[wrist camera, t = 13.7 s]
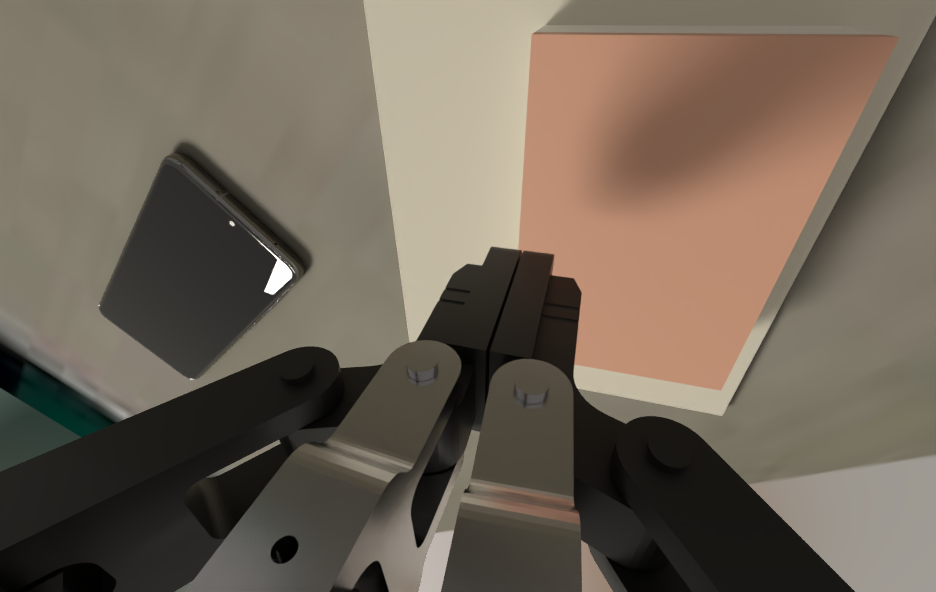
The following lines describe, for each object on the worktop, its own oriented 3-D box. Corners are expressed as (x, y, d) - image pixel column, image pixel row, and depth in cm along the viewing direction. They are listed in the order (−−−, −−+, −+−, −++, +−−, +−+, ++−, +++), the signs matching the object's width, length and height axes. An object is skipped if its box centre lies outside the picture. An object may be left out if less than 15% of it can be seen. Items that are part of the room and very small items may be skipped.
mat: (354, -117, 11) (347, -120, 11) (1021, -170, 8) (1037, -176, 8) (414, 351, 21) (411, 356, 21) (720, 408, 18) (722, 415, 18)
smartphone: (93, 310, 27) (163, 149, 17) (109, 300, 27) (184, 141, 18) (193, 385, 29) (303, 276, 19) (205, 373, 29) (317, 264, 20)
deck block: (531, 34, 10) (899, 37, 8) (545, 25, 12) (844, 25, 10) (511, 353, 16) (721, 390, 14) (523, 312, 18) (708, 340, 16)
